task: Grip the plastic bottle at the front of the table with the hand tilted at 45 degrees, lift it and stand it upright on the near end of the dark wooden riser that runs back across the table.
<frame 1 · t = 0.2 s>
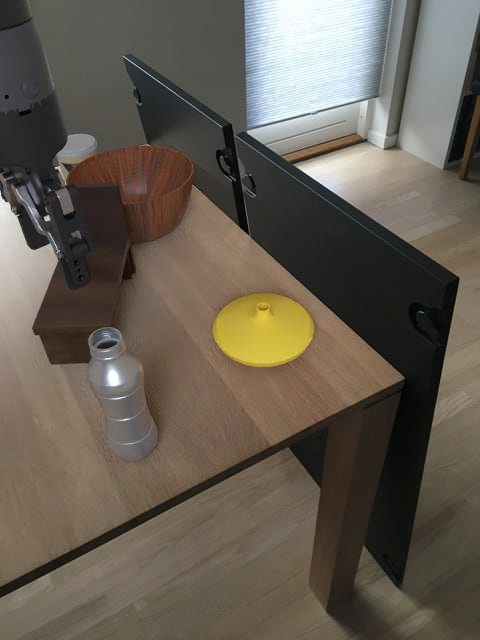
hand: (59, 264, 51), 30 cm above the table, tool pointing down, fingers open, 8 cm apart
dark wooden riser: (96, 313, 92), on the table
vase: (263, 341, 86), on the table
coffee cup: (87, 192, 124), on the table
plastic bottle: (136, 447, 71), on the table
bowl: (140, 223, 113), on the table
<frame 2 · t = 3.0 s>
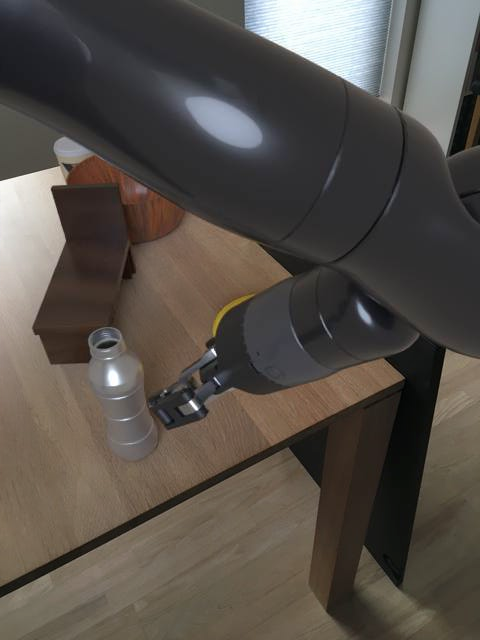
hand: (185, 376, 52), 21 cm above the table, tool tilted 45°, fingers open, 8 cm apart
nothing on the table moved.
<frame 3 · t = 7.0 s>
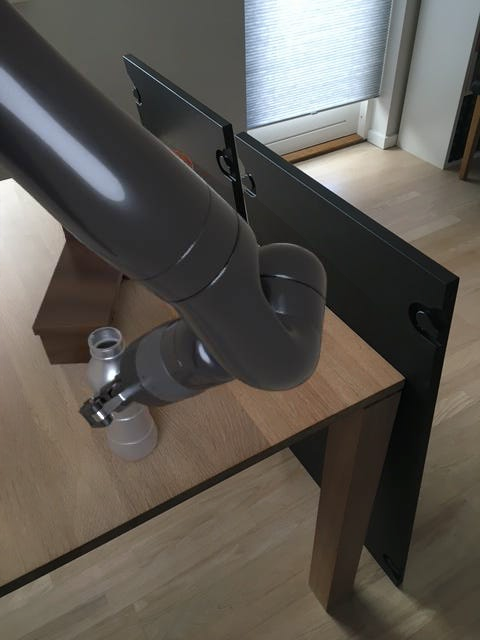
hand: (111, 390, 65), 10 cm above the table, tool tilted 45°, fingers closed on plastic bottle, 6 cm apart
plastic bottle: (135, 447, 71), on the table, touching gripper
everything else where it was.
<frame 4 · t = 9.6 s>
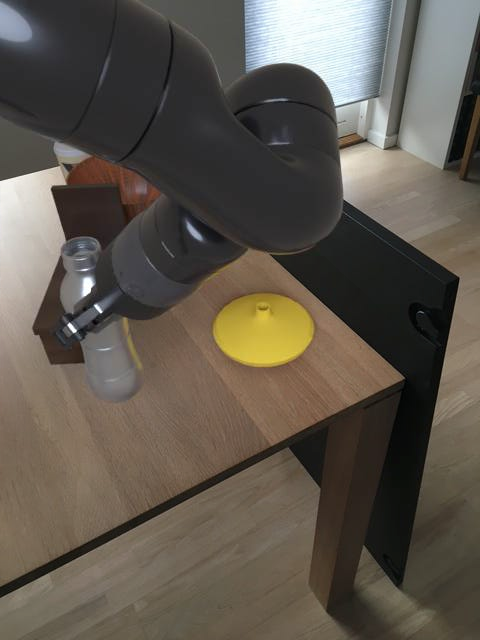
hand: (90, 318, 57), 22 cm above the table, tool tilted 45°, fingers closed on plastic bottle, 6 cm apart
plastic bottle: (120, 390, 63), point 12 cm above the table, touching gripper
everything else where it was.
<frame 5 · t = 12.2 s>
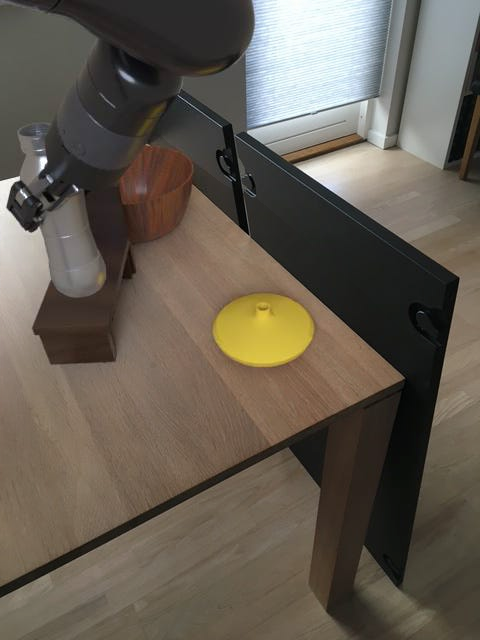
hand: (51, 211, 61), 29 cm above the table, tool tilted 45°, fingers closed on plastic bottle, 6 cm apart
plastic bottle: (83, 289, 67), point 19 cm above the table, touching gripper
everything else where it was.
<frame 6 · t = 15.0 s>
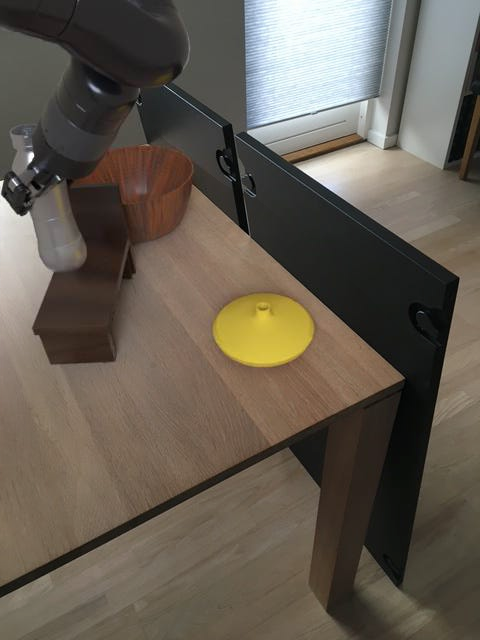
hand: (39, 198, 72), 25 cm above the table, tool tilted 45°, fingers closed on plastic bottle, 6 cm apart
plastic bottle: (68, 266, 78), point 14 cm above the table, touching gripper
everything else where it was.
when the fingers open (18 cm above the table, at t = 17.4 s): plastic bottle stays where it is, resting on dark wooden riser.
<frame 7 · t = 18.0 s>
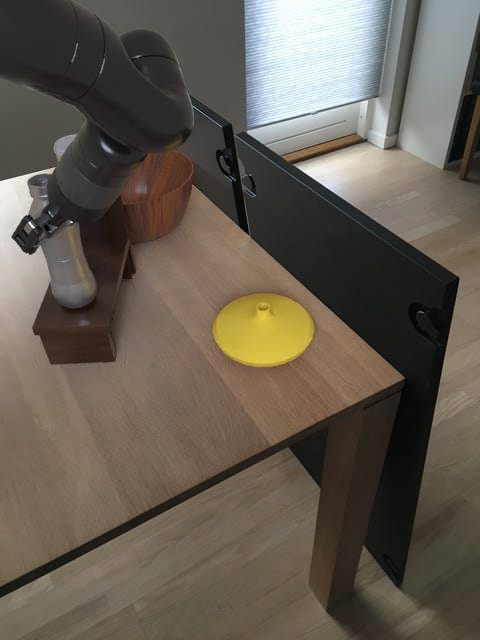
hand: (51, 233, 75), 19 cm above the table, tool tilted 45°, fingers open, 8 cm apart
plastic bottle: (78, 301, 82), point 8 cm above the table, touching dark wooden riser
everything else where it was.
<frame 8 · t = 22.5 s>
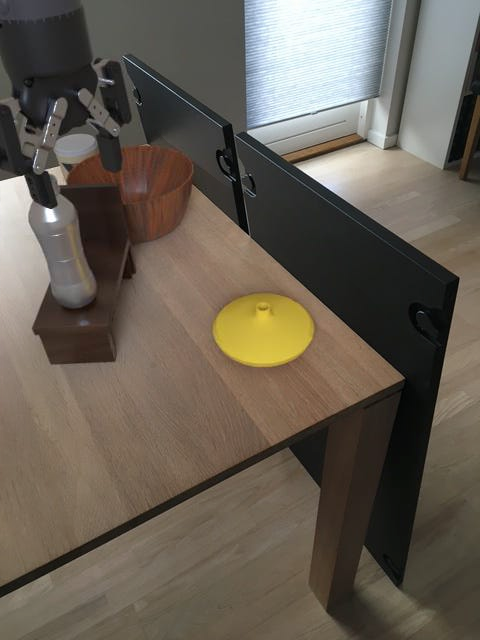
hand: (82, 187, 54), 34 cm above the table, tool pointing down, fingers open, 8 cm apart
nothing on the table moved.
at the end: plastic bottle inside the target area on the dark wooden riser (0.4 cm from its centre), point 7.8 cm above the dark wooden riser's base; plastic bottle tilted 0° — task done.
